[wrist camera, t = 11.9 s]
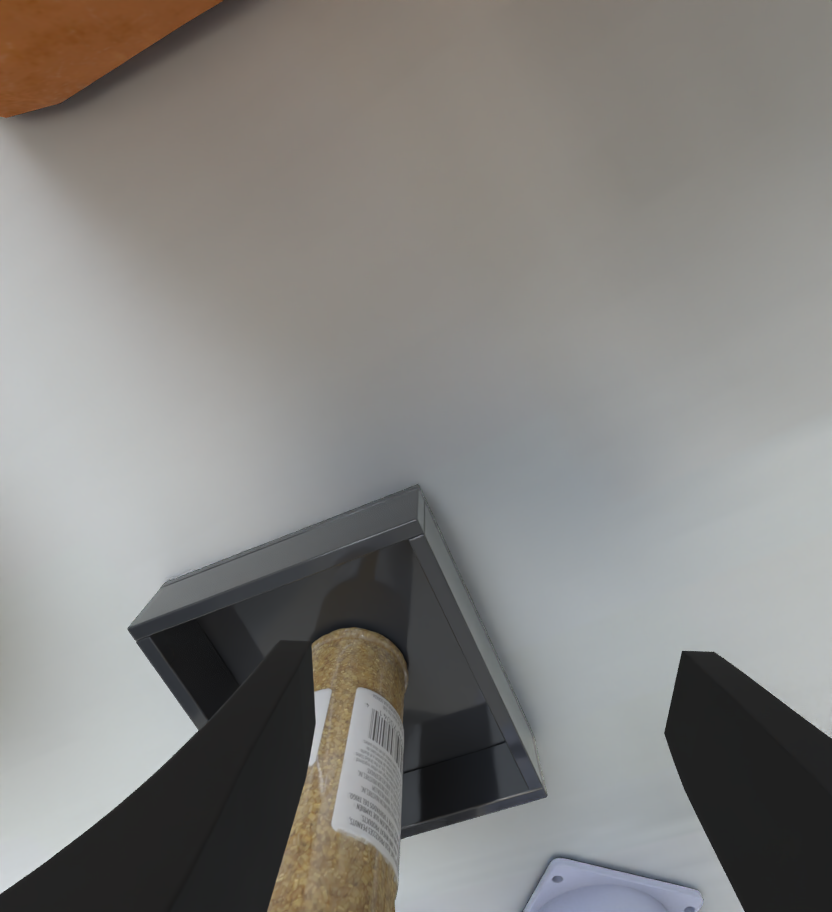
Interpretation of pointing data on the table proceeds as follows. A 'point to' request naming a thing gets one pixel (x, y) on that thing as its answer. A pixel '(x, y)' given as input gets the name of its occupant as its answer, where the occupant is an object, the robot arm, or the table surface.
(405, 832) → the dark gray square tray
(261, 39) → the table surface
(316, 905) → the sprinkles bottle
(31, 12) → the bread
